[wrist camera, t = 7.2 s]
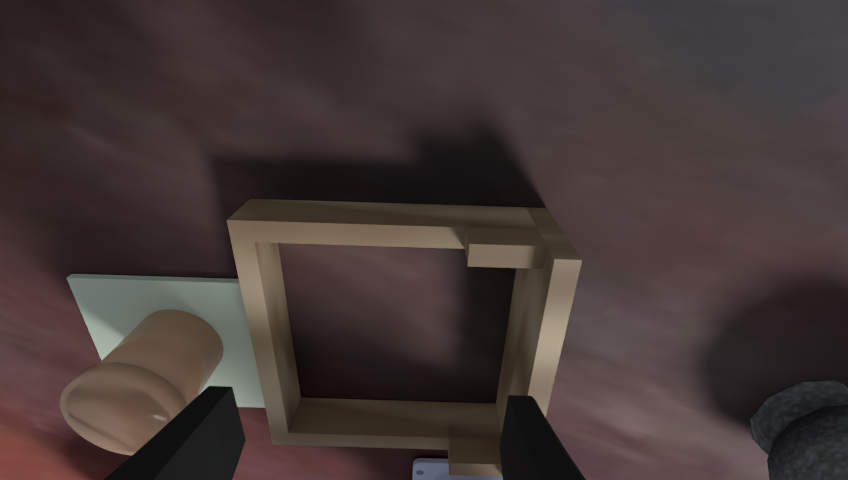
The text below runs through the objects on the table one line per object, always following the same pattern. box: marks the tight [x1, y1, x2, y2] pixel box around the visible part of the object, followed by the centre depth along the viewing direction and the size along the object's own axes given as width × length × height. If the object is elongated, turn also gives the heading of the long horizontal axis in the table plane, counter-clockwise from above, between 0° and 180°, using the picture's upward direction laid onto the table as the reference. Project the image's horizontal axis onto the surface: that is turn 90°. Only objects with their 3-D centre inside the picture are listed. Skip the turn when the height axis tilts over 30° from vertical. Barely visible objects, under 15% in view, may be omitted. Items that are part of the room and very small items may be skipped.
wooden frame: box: [227, 199, 582, 477], centre depth 20 cm, size 14×14×5 cm
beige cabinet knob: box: [60, 309, 224, 455], centre depth 20 cm, size 5×5×5 cm
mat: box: [67, 274, 265, 408], centre depth 23 cm, size 9×9×1 cm
